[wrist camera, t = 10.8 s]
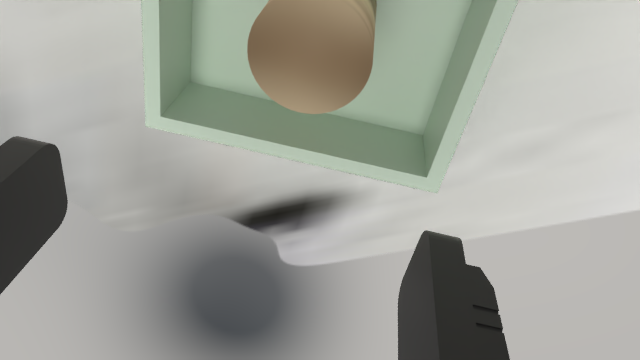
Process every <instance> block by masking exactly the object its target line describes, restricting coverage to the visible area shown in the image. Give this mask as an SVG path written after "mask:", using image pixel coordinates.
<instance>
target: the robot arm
mask: <svg viewBox="0 0 640 360" xmlns="http://www.w3.org/2000/svg"><path fill="white" fill-rule="evenodd" d="M66 210H67V194H66V188H65V182H64V176H63V170H62V164H61V158H60V153H59V150H58V148H57V147H56V146H55V145H53V144H50V143H46V142H41V141H37V140H32V139H28V138H24V137H19V136H16V137H12V138H10V139H9V140H8V141H6V142H5V143H4V144H2V145H1V146H0V294H1V293H2V292H3V291H4V290H5V288H6V287H7V286H8V285H9V284H10V283H11V281H12V280H13V279H14V278H15V277H16V276H17V274H18V273H19V272H20V271H21V270H22V269H23V268H24V267H25V265H26V264H27V263H28V262H29V261H30V260H31V259H32V257H33V256H34V255H35V254H36V253H37V252H38V251H39V249H40V248H41V247H42V246H43V245H44V244H45V243H46V241H47V240H48V239H49V238H50V237H51V236H52V235H53V233H54V232H55V231H56V230H57V229H58V228H59V226H60V224H61V223H62V221H63V219H64V217H65V214H66ZM498 311H499V309H498V305H497V300H496V296H495V292H494V288H493V286H492V285H491V284H490V282H489V280H488V279H487V277H486V276H485V274H484V273H483V271H482V270H481V268H480V267H475V266H471V265H467V264H466V263H465V257H464V251H463V245H462V241H461V239H460V238H457V237H453V236H448V235H444V234H440V233H435V232H431V231H424V232H423V233H422V235H421V237H420V239H419V242H418V244H417V247H416V249H415V251H414V254H413V256H412V258H411V261H410V263H409V265H408V268H407V270H406V273H405V275H404V277H403V280H402V283H401V287H400V292H399V298H398V360H510V359H509V354H508V350H507V345H506V341H505V336H504V333H502V329H503V327H502V323H501V318H500V315H498Z"/></svg>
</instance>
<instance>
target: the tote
mask: <svg viewBox="0 0 640 360" xmlns="http://www.w3.org/2000/svg"><path fill="white" fill-rule="evenodd" d="M268 1H269V0H141V10H142V38H143V67H144V96H145V125H146V127H150V128H154V129H158V130H163V131H167V132H171V133H176V134H180V135H185V136H189V137H193V138H198V139H202V140H206V141H211V142H215V143H219V144H224V145H228V146H233V147H237V148H241V149H246V150H250V151H254V152H259V153H263V154H268V155H272V156H276V157H281V158H285V159H289V160H294V161H298V162H302V163H307V164H311V165H316V166H320V167H324V168H329V169H333V170H337V171H342V172H346V173H351V174H355V175H359V176H364V177H368V178H372V179H377V180H381V181H385V182H390V183H394V184H399V185H403V186H407V187H412V188H416V189H420V190H425V191H429V192H433V193H437V192H438V190H439V188H440V185H441V183H442V180H443V178H444V176H445V173H446V171H447V169H448V166H449V164H450V161H451V159H452V157H453V154H454V152H455V150H456V147H457V145H458V142H459V140H460V138H461V135H462V133H463V131H464V128H465V126H466V124H467V121H468V119H469V116H470V114H471V112H472V109H473V107H474V105H475V102H476V100H477V97H478V95H479V93H480V90H481V88H482V86H483V83H484V81H485V78H486V76H487V74H488V71H489V69H490V67H491V64H492V62H493V59H494V57H495V55H496V52H497V50H498V48H499V45H500V43H501V40H502V38H503V36H504V33H505V31H506V29H507V26H508V24H509V21H510V19H511V17H512V14H513V12H514V10H515V7H516V5H517V3H518V0H376V1H377V8H376V23H375V38H374V53H373V65H372V70H371V74H370V76H369V79H368V81H367V83H366V85H365V87H364V88H363V90H362V91H361V92H360V94H359V95H358V96H357V97H356V98H355V99H354V100H352V101H351V102H350V103H348V104H347V105H345V106H344V107H342V108H339V109H337V110H335V111H331V112H328V113H322V114H305V113H300V112H296V111H293V110H290V109H288V108H285V107H283V106H281V105H280V104H278V103H276V102H275V101H274V100H272V99H271V98H270V97H269V96H268V95H267V94H266V93H265V92H264V91H263V90H262V89H261V88H260V86H259V85H258V83H257V82H256V80H255V78H254V76H253V74H252V71H251V69H250V66H249V61H248V54H247V44H248V38H249V33H250V30H251V27H252V25H253V23H254V21H255V19H256V18H257V16H258V15H259V14H260V12H261V11H262V9H263V8H264V7H265V5H266V4H267V3H268Z"/></svg>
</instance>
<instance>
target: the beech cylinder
mask: <svg viewBox="0 0 640 360" xmlns="http://www.w3.org/2000/svg"><path fill="white" fill-rule="evenodd" d="M376 8H377V1H376V0H269V1H268V3H267V4H266V5H265V7H264V8H263V9H262V11H261V12H260V14H259V15H258V16H257V18H256V19H255V21H254V23H253V25H252V27H251V30H250V33H249V38H248V44H247V54H248V61H249V66H250V69H251V71H252V74H253V76H254V78H255V80H256V82H257V83H258V85H259V86H260V88H261V89H262V90H263V91H264V92H265V93H266V94H267V95H268V96H269V97H270V98H271V99H272V100H274V101H275V102H276V103H278V104H280V105H281V106H283V107H285V108H288V109H290V110H293V111H296V112H300V113H305V114H322V113H328V112H331V111H335V110H337V109H339V108H342V107H344V106H345V105H347V104H348V103H350V102H351V101H352V100H354V99H355V98H356V97H357V96H358V95H359V94H360V92H361V91H362V90H363V88H364V87H365V85H366V83H367V81H368V79H369V76H370V74H371V70H372V65H373V53H374V38H375V23H376Z"/></svg>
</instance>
